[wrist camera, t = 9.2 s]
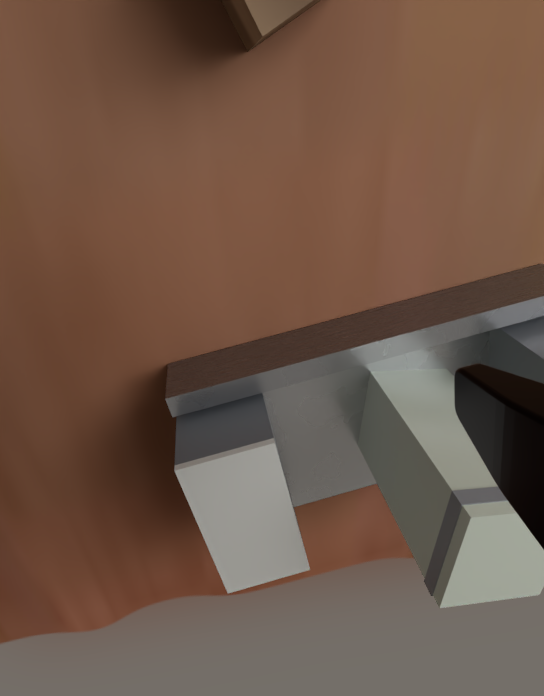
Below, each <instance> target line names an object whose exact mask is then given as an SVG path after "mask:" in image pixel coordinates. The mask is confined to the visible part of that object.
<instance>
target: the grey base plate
mask: <svg viewBox="0 0 544 696" xmlns="http://www.w3.org/2000/svg"><path fill="white" fill-rule="evenodd" d="M541 316H544V264H538V265H535V266H531V267H527V268H523V269H520V270H516V271H512V272H509V273H505V274H501V275H497V276H494V277H490V278H486V279H483V280H479V281H475V282H471V283H468V284H464V285H460V286H457V287H453V288H449V289H445V290H442V291H438V292H434V293H430V294H427V295H423V296H419V297H416V298H412V299H408V300H404V301H401V302H397V303H393V304H390V305H386V306H382V307H378V308H375V309H371V310H367V311H364V312H360V313H356V314H352V315H349V316H345V317H341V318H337V319H334V320H330V321H326V322H323V323H319V324H315V325H311V326H308V327H304V328H300V329H297V330H293V331H289V332H285V333H282V334H278V335H274V336H270V337H267V338H263V339H259V340H256V341H252V342H248V343H244V344H241V345H237V346H233V347H230V348H226V349H222V350H218V351H215V352H211V353H207V354H204V355H200V356H196V357H192V358H189V359H185V360H181V361H177V362H174V363H170V364H168V370H167V382H166V394H165V400H166V403H167V405H168V407H169V410H170V412H171V415H172V417H176V416H180V415H183V414H187V413H190V412H194V411H198V410H201V409H205V408H209V407H212V406H216V405H220V404H223V403H227V402H231V401H234V400H238V399H242V398H245V397H249V396H253V395H256V394H260V393H263V397H264V401H265V404H266V408H267V412H268V415H269V419H270V422H271V426H272V430H273V433H274V437H275V441H276V444H277V448H278V452H279V455H280V459H281V463H282V466H283V470H284V473H285V477H286V481H287V484H288V488H289V492H290V495H291V499H292V503H293V506H294V507H296V506H299V505H303V504H306V503H310V502H314V501H317V500H321V499H324V498H328V497H331V496H335V495H338V494H342V493H345V492H349V491H352V490H356V489H359V488H363V487H366V486H370V485H373V484H377V483H376V481H375V479H374V477H373V475H372V473H371V471H370V469H369V467H368V465H367V463H366V461H365V459H364V457H363V455H362V453H361V451H360V449H359V447H358V440H359V434H360V429H361V423H362V417H363V411H364V405H365V399H366V394H367V388H368V382H369V376H370V372H372V371H397V370H421V369H446V368H447V369H448V370H449V371H450V372H451V373H452V374H453V376H455V372H456V370H457V369H458V368H461V367H465V366H469V365H473V364H477V363H479V364H484V365H487V366H489V335H490V330H494V329H498V328H501V327H505V326H509V325H512V324H516V323H519V322H523V321H527V320H530V319H534V318H538V317H541Z"/></svg>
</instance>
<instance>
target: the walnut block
mask: <svg viewBox="0 0 544 696" xmlns="http://www.w3.org/2000/svg"><path fill="white" fill-rule="evenodd" d="M221 1H222V3H223V5H224V7H225V9H226V11H227V13H228V15H229V17H230V19H231V21H232V23H233V25H234V26H235V28H236V30H237V32H238V34H239V36H240V38H241V40H242V42H243V44H244V46H245V48H246V50H247V52H248V51H250V50H251V49H253V48H254V47H255V46H257V45H258V44H260V43H261V42H262V41H264V40H265V39H267V38H268V37H269V36H271V35H272V34H274V33H275V32H277V31H278V30H279V29H281V28H282V27H284V26H285V25H286V24H288V23H289V22H291V21H292V20H293V19H295V18H296V17H298V16H299V15H300V14H302V13H303V12H305V11H306V10H308V9H309V8H310V7H312V6H313V5H315V4H316V3H317V2H319V1H320V0H221Z"/></svg>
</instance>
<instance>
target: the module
mask: <svg viewBox="0 0 544 696" xmlns="http://www.w3.org/2000/svg"><path fill="white" fill-rule="evenodd" d="M174 471H175V474H176V476H177V478H178V480H179V483H180V485H181V487H182V490H183V492H184V494H185V496H186V499H187V501H188V503H189V506H190V508H191V510H192V512H193V515H194V517H195V519H196V522H197V524H198V526H199V528H200V531H201V533H202V535H203V538H204V540H205V542H206V544H207V547H208V549H209V551H210V554H211V556H212V558H213V560H214V563H215V565H216V567H217V570H218V572H219V574H220V576H221V579H222V581H223V583H224V586H225V588H226V590H227V593H232V592H235V591H238V590H242V589H245V588H249V587H252V586H256V585H259V584H263V583H266V582H269V581H273V580H276V579H280V578H283V577H287V576H290V575H294V574H297V573H300V572H304V571H307V570H310V568H309V564H308V560H307V556H306V552H305V548H304V545H303V541H302V537H301V533H300V529H299V526H298V522H297V518H296V514H295V510H294V506H293V503H292V499H291V495H290V492H289V488H288V484H287V481H286V477H285V473H284V470H283V466H282V463H281V459H280V455H279V452H278V448H277V444H276V441H275V437H274V433H273V430H272V426H271V422H270V419H269V415H268V412H267V408H266V404H265V401H264V397H263V393H260V394H256V395H253V396H249V397H245V398H242V399H238V400H234V401H231V402H227V403H223V404H220V405H216V406H212V407H209V408H205V409H201V410H198V411H194V412H190V413H187V414H183V415H180V416H177V419H176V443H175V466H174Z"/></svg>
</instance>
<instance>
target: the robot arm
mask: <svg viewBox="0 0 544 696" xmlns="http://www.w3.org/2000/svg"><path fill="white" fill-rule="evenodd" d="M454 396H455V411H456V414H457V416H458V419H459V420H460V422H461V424H462V426H463V427H464V429H465V431H466V433H467V434H468V436H469V438H470V439H471V441H472V443H473V445H474V446H475V448H476V450H477V452H478V453H479V455H480V457H481V458H482V460H483V462H484V464H485V465H486V467H487V469H488V471H489V472H490V474H491V476H492V478H493V479H494V481H495V482H496V484H497V486H498V487H499V489H500V490H501V492H502V493H503V495H504V496H505V498H506V499H507V500H508V502H509V503H510V505H511V506H512V507H513V509H514V510H515V511H516V513H517V514H518V515H519V517H520V518H521V520H522V521H523V522H524V524H525V525H526V526H527V528H528V529H529V530H530V532H531V533H532V535H533V536H534V537H535V539H536V540H537V541H538V543H539V544H540V545H541V547H542V548H543V550H544V383H540V382H537V381H534V380H531V379H528V378H525V377H521V376H518V375H515V374H512V373H509V372H506V371H503V370H499V369H496V368H493V367H490V366H487V365H484V364H479V363H477V364H473V365H469V366H465V367H461V368H458V369H457V370H456V372H455V376H454Z"/></svg>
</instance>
